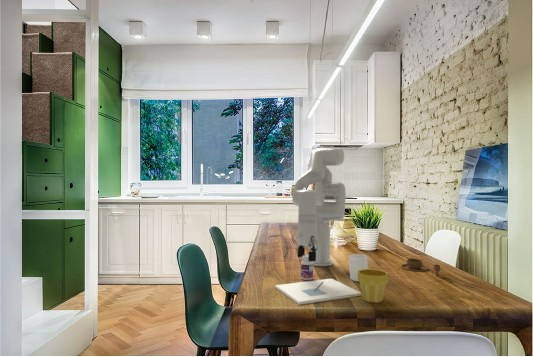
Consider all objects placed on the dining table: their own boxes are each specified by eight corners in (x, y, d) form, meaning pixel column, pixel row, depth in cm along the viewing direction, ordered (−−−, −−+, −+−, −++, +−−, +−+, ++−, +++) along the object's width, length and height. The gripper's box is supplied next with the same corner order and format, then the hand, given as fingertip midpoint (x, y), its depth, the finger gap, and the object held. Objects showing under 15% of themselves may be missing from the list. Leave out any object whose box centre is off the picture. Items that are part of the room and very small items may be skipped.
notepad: (275, 287, 139) (275, 285, 139) (331, 280, 149) (331, 278, 149) (298, 304, 121) (298, 301, 121) (361, 295, 130) (361, 292, 130)
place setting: (431, 268, 174) (431, 256, 174) (442, 279, 154) (442, 266, 154) (394, 266, 177) (394, 254, 177) (400, 277, 158) (400, 263, 158)
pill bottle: (297, 278, 152) (298, 255, 152) (305, 276, 156) (306, 254, 156) (307, 281, 149) (307, 257, 149) (315, 278, 152) (315, 256, 152)
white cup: (354, 282, 147) (354, 258, 147) (345, 277, 154) (345, 254, 154) (371, 281, 149) (371, 257, 149) (361, 276, 156) (361, 253, 156)
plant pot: (364, 292, 133) (364, 267, 133) (392, 299, 127) (392, 271, 127) (352, 300, 125) (352, 272, 125) (381, 307, 119) (381, 278, 119)
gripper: (290, 217, 159) (289, 255, 158) (309, 220, 143) (308, 263, 142) (305, 217, 162) (304, 254, 161) (325, 220, 146) (324, 262, 145)
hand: (306, 258), depth 152 cm, fingers open, 9 cm apart
